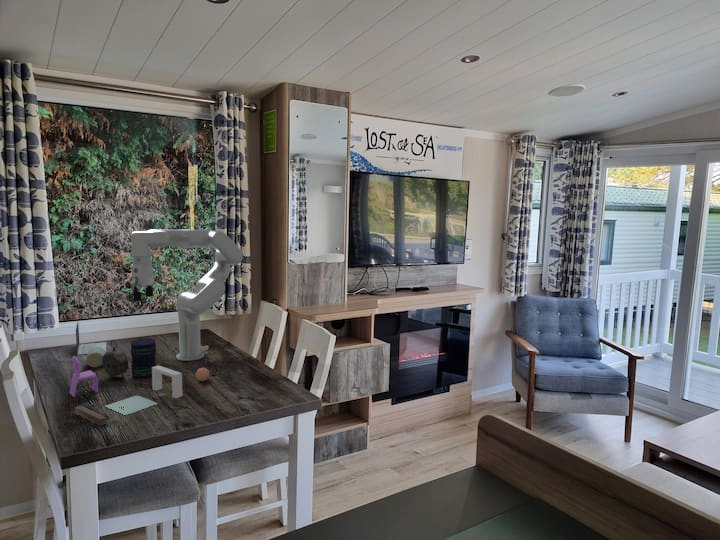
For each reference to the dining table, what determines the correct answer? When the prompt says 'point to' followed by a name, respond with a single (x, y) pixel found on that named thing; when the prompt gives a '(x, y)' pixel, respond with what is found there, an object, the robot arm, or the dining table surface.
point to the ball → (202, 374)
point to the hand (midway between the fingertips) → (143, 298)
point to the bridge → (175, 375)
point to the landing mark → (131, 405)
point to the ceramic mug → (95, 356)
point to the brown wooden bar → (90, 415)
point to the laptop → (86, 347)
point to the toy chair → (81, 377)
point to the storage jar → (143, 358)
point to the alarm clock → (115, 362)
